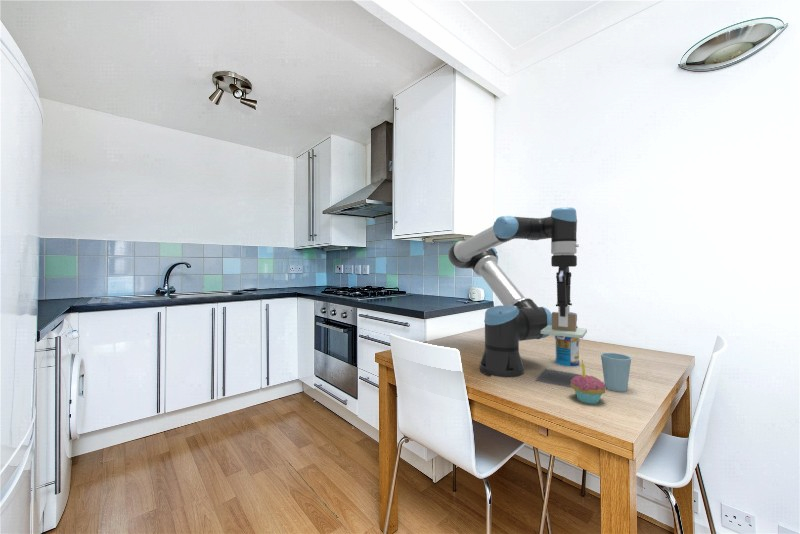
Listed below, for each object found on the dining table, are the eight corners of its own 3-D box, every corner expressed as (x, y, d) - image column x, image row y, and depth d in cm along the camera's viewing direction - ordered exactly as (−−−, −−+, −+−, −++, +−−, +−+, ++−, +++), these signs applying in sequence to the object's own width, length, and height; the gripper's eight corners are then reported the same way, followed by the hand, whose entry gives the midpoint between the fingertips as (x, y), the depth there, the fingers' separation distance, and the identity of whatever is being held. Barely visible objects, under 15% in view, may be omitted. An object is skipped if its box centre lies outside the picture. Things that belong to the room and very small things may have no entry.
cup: (637, 392, 95) (637, 357, 95) (621, 396, 92) (620, 360, 92) (611, 384, 102) (611, 351, 102) (595, 387, 99) (595, 354, 99)
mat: (535, 382, 104) (535, 380, 104) (545, 370, 116) (545, 368, 116) (588, 393, 95) (588, 391, 95) (593, 378, 107) (593, 376, 107)
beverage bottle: (552, 361, 127) (552, 311, 127) (575, 362, 125) (575, 311, 125) (558, 367, 119) (558, 314, 119) (583, 369, 117) (583, 314, 117)
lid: (540, 333, 104) (540, 313, 104) (548, 327, 114) (548, 309, 114) (582, 338, 97) (582, 317, 97) (586, 331, 107) (586, 312, 107)
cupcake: (591, 410, 83) (591, 364, 83) (563, 398, 91) (563, 356, 91) (612, 404, 87) (612, 360, 87) (583, 393, 94) (583, 353, 95)
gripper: (573, 253, 97) (573, 330, 97) (579, 255, 110) (579, 323, 110) (546, 254, 101) (546, 328, 101) (555, 255, 114) (555, 321, 114)
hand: (564, 325), depth 106 cm, fingers closed on lid, 2 cm apart
